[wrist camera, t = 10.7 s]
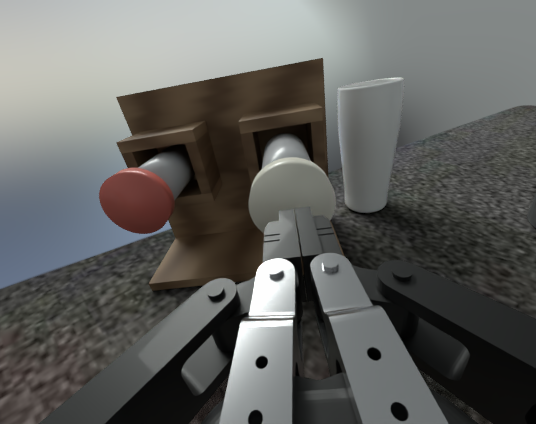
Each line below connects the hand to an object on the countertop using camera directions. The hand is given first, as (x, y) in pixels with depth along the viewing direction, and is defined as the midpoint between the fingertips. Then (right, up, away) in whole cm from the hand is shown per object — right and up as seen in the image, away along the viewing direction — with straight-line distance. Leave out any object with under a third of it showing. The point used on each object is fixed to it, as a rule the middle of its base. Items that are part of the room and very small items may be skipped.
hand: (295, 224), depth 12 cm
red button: (-10, +1, +11) cm, 15 cm away
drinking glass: (+12, +1, +22) cm, 25 cm away
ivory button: (0, +1, +7) cm, 7 cm away
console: (-3, -4, +17) cm, 18 cm away
